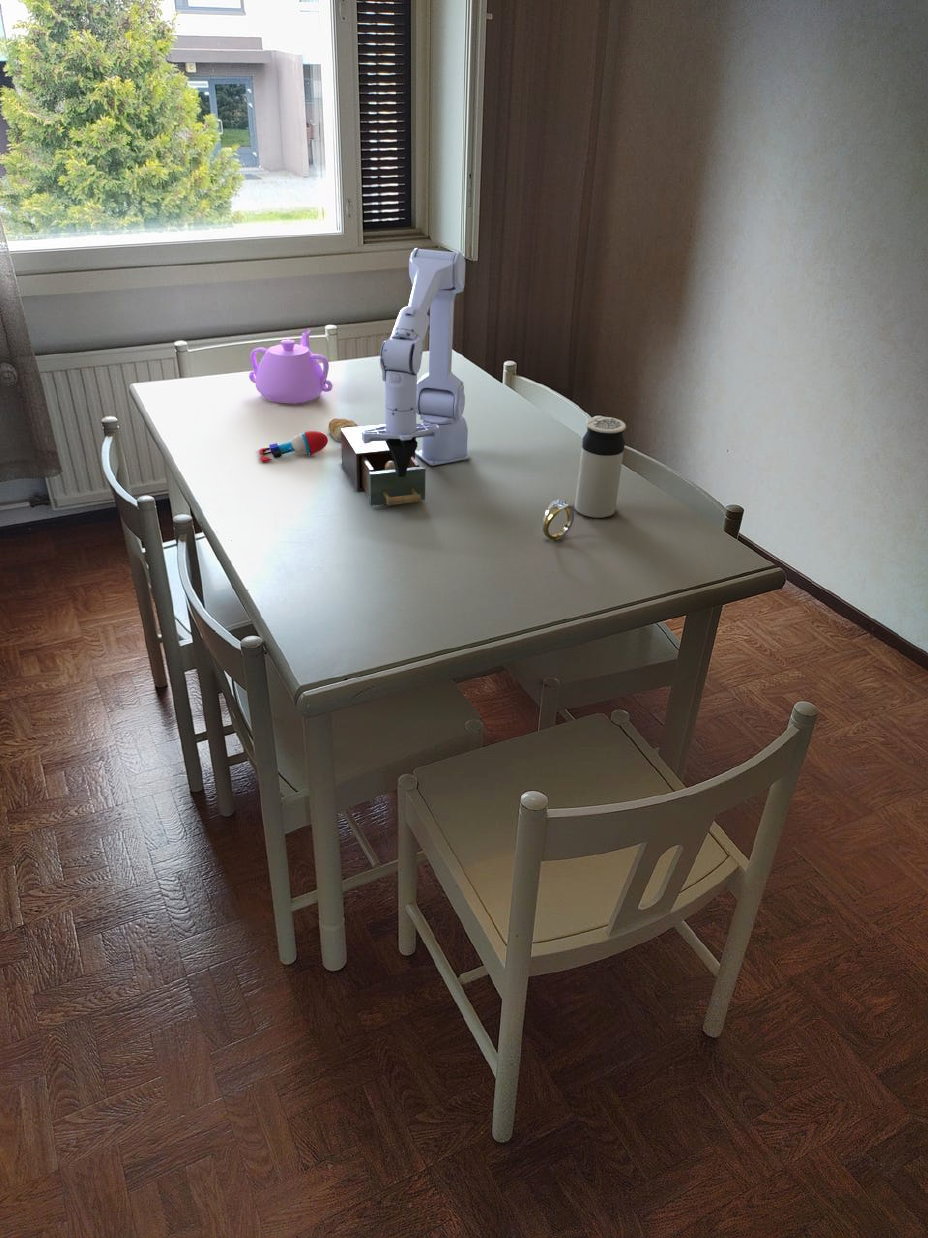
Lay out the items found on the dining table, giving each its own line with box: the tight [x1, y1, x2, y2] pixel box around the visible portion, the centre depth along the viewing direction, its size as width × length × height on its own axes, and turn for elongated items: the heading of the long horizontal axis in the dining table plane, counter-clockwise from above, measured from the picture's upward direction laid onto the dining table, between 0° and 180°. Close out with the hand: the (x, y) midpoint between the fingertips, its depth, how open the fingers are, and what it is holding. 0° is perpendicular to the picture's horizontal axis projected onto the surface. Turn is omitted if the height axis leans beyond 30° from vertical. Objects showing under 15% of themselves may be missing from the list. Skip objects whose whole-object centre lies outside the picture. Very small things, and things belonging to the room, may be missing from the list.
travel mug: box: [574, 416, 627, 519], centre depth 175 cm, size 8×8×18 cm
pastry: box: [328, 418, 360, 443], centre depth 207 cm, size 9×7×4 cm
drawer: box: [359, 453, 426, 507], centre depth 179 cm, size 17×11×7 cm, turn 19°
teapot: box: [248, 328, 333, 404], centre depth 226 cm, size 22×22×14 cm
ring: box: [541, 498, 575, 541], centre depth 167 cm, size 7×3×8 cm, turn 124°
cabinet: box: [340, 424, 416, 492], centre depth 188 cm, size 14×12×8 cm
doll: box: [383, 461, 395, 471], centre depth 179 cm, size 4×4×6 cm
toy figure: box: [258, 430, 329, 463], centre depth 196 cm, size 8×5×15 cm
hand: (400, 474), depth 172 cm, fingers closed
